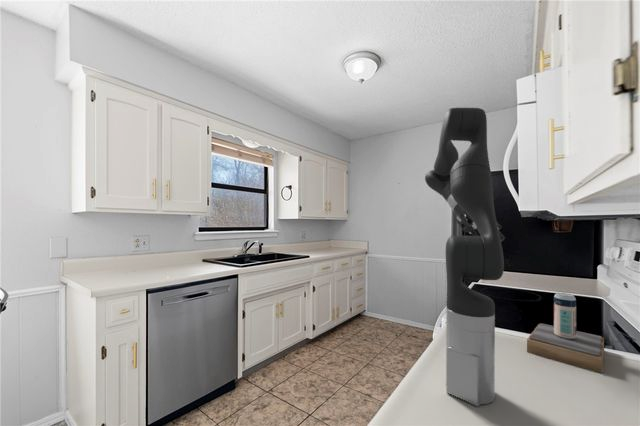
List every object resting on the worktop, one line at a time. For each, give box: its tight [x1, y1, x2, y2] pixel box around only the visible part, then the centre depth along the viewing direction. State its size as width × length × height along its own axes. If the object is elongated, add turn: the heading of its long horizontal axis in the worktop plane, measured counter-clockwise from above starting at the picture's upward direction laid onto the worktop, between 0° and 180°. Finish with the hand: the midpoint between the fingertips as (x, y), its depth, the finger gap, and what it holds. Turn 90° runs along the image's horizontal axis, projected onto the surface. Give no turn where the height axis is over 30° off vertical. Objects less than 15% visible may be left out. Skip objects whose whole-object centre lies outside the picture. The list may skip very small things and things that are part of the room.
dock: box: [526, 322, 605, 374], centre depth 81 cm, size 18×15×4 cm
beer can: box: [553, 292, 577, 339], centre depth 81 cm, size 5×5×12 cm
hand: (492, 240), depth 89 cm, fingers open, 8 cm apart
